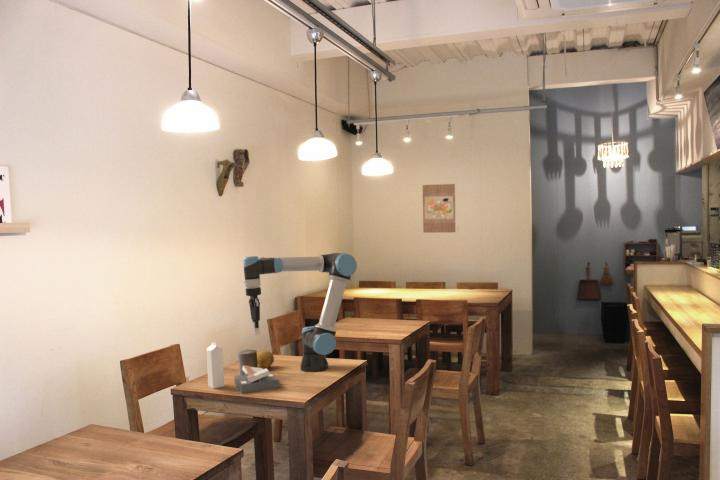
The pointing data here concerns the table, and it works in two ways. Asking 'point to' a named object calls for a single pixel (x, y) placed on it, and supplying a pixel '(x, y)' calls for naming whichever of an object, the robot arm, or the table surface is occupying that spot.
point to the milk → (215, 366)
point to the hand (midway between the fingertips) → (256, 334)
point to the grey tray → (256, 383)
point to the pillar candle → (247, 359)
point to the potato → (264, 359)
